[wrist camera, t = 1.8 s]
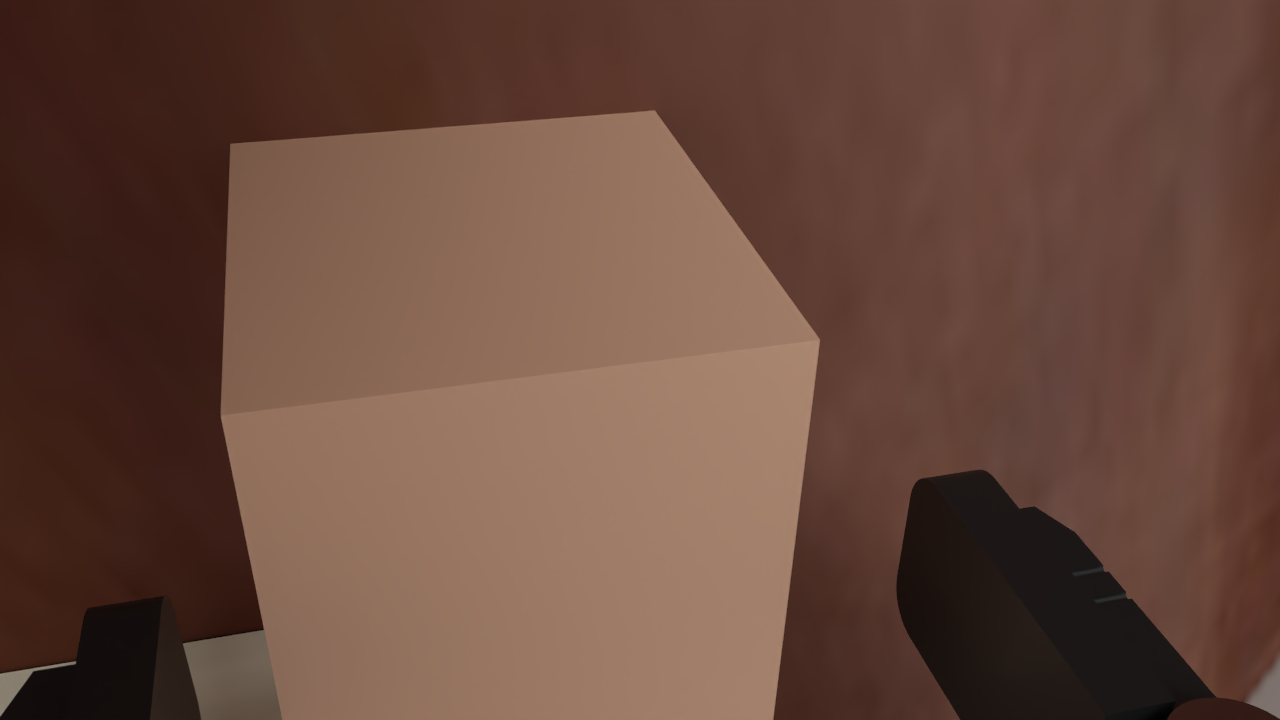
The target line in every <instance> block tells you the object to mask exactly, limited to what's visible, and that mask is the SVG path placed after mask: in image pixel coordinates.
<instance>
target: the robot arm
mask: <svg viewBox="0 0 1280 720" xmlns="http://www.w3.org/2000/svg"><path fill="white" fill-rule="evenodd" d="M897 600H898V606H899V611H900V614H901V618H902V621H903V624H904V626H905V628H906V631H907V633H908V635H909V636H910V638H911V640H912V641H913V643H914V645H915V646H916V648H917V650H918V651H919V653H920V654H921V656H922V658H923V659H924V661H925V663H926V664H927V666H928V668H929V669H930V671H931V672H932V674H933V676H934V677H935V679H936V681H937V682H938V684H939V685H940V687H941V689H942V690H943V692H944V694H945V695H946V697H947V699H948V700H949V702H950V703H951V705H952V707H953V708H954V710H955V712H956V713H957V715H958V716H959V718H960V720H1280V719H1279V718H1277V717H1275V716H1274V715H1272V714H1270V713H1268V712H1266V711H1264V710H1262V709H1260V708H1258V707H1255V706H1253V705H1250V704H1247V703H1244V702H1240V701H1236V700H1231V699H1225V698H1217V697H1216V696H1215V695H1214V694H1213V693H1212V692H1211V691H1210V690H1209V689H1208V687H1207V686H1206V685H1205V684H1204V683H1203V682H1202V680H1201V679H1200V678H1199V677H1198V676H1197V675H1196V673H1195V672H1194V671H1193V670H1192V669H1191V667H1190V666H1189V665H1188V664H1187V663H1186V662H1185V660H1184V659H1183V658H1182V657H1181V656H1180V655H1179V653H1178V652H1177V651H1176V650H1175V649H1174V648H1173V646H1172V645H1171V644H1170V643H1169V642H1168V641H1167V639H1166V638H1165V637H1164V636H1163V635H1162V634H1161V632H1160V631H1159V630H1158V629H1157V628H1156V627H1155V625H1154V624H1153V623H1152V622H1151V621H1150V620H1149V618H1148V617H1147V616H1146V615H1145V614H1144V612H1143V611H1142V610H1141V609H1140V608H1139V607H1138V605H1137V604H1136V603H1135V602H1134V601H1133V600H1132V599H1127V597H1126V591H1125V590H1124V589H1123V588H1122V587H1121V586H1120V584H1119V583H1118V582H1117V581H1116V580H1115V579H1114V577H1113V576H1112V575H1111V574H1110V573H1109V572H1104V570H1103V565H1102V563H1101V562H1100V561H1099V560H1098V559H1097V557H1096V556H1095V555H1094V554H1093V553H1092V552H1091V550H1090V549H1089V548H1088V547H1087V546H1086V545H1085V543H1084V542H1083V541H1082V540H1081V539H1080V538H1079V536H1078V535H1077V534H1076V533H1075V532H1074V531H1072V530H1070V529H1069V528H1067V527H1066V526H1064V525H1063V524H1061V523H1059V522H1058V521H1056V520H1055V519H1053V518H1052V517H1050V516H1048V515H1047V514H1045V513H1044V512H1042V511H1041V510H1039V509H1037V508H1036V507H1028V508H1022V509H1019V508H1018V507H1017V505H1016V504H1015V503H1014V502H1013V500H1012V499H1011V498H1010V497H1009V496H1008V494H1007V493H1006V492H1005V491H1004V489H1003V488H1002V487H1001V486H1000V485H999V483H998V482H997V481H996V480H995V478H994V477H993V476H992V475H991V474H989V473H988V472H987V471H984V470H974V471H967V472H961V473H955V474H948V475H942V476H936V477H929V478H923V479H920V480H918V481H917V482H916V483H915V485H914V487H913V489H912V492H911V497H910V503H909V509H908V515H907V521H906V527H905V533H904V539H903V545H902V551H901V557H900V563H899V569H898V575H897ZM0 720H201V716H200V710H199V704H198V700H197V696H196V692H195V688H194V684H193V680H192V677H191V673H190V669H189V665H188V661H187V657H186V654H185V650H184V646H183V642H182V638H181V634H180V630H179V627H178V623H177V619H176V615H175V611H174V608H173V605H172V602H171V600H170V598H169V597H168V596H161V597H155V598H148V599H142V600H135V601H129V602H123V603H116V604H110V605H104V606H97V607H91V608H89V609H87V611H86V613H85V616H84V620H83V625H82V630H81V636H80V642H79V647H78V653H77V659H76V664H73V665H67V666H61V667H55V668H49V669H43V670H37V671H33V672H32V674H31V675H30V676H29V678H28V679H27V681H26V682H25V683H24V685H23V686H22V687H21V689H20V690H19V691H18V693H17V694H16V696H15V697H14V698H13V700H12V701H11V702H10V704H9V705H8V706H7V708H6V709H5V711H4V712H3V713H2V715H1V716H0Z"/></svg>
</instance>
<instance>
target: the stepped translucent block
mask: <svg viewBox="0 0 1280 720" xmlns="http://www.w3.org/2000/svg"><path fill="white" fill-rule="evenodd" d="M183 646H184V650H185V654H186V657H187V661H188V665H189V669H190V673H191V677H192V680H193V684H194V688H195V692H196V696H197V700H198V704H199V710H200V716H201V720H282V715H281V710H280V705H279V700H278V695H277V690H276V686H275V681H274V676H273V671H272V666H271V661H270V656H269V651H268V646H267V641H266V636H265V631H264V630H261V631H255V632H249V633H243V634H237V635H231V636H225V637H219V638H213V639H207V640H201V641H195V642H189V643H183ZM73 664H76V661H74V662H68V663H62V664H56V665H50V666H44V667H38V668H32V669H26V670H20V671H14V672H8V673H2V674H0V716H1V715H2V713H3V712H4V711H5V709H6V708H7V706H8V705H9V704H10V702H11V701H12V700H13V698H14V697H15V696H16V694H17V693H18V691H19V690H20V689H21V687H22V686H23V685H24V683H25V682H26V681H27V679H28V678H29V676H30V675H31V674H32V672H33V671H37V670H43V669H49V668H55V667H61V666H67V665H73Z"/></svg>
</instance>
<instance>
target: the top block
mask: <svg viewBox="0 0 1280 720" xmlns="http://www.w3.org/2000/svg"><path fill="white" fill-rule="evenodd" d="M819 344H820V339H819V338H818V336H817V335H816V334H815V332H814V331H813V329H812V328H811V327H810V325H809V324H808V323H807V321H806V320H805V318H804V317H803V316H802V314H801V313H800V311H799V310H798V309H797V307H796V306H795V304H794V303H793V302H792V300H791V299H790V298H789V296H788V295H787V293H786V292H785V291H784V289H783V288H782V286H781V285H780V284H779V282H778V281H777V279H776V278H775V277H774V275H773V274H772V273H771V271H770V270H769V268H768V267H767V266H766V264H765V263H764V261H763V260H762V259H761V257H760V256H759V254H758V253H757V252H756V250H755V249H754V248H753V246H752V245H751V243H750V242H749V241H748V239H747V238H746V236H745V235H744V234H743V232H742V231H741V229H740V228H739V227H738V225H737V224H736V223H735V221H734V220H733V218H732V217H731V216H730V214H729V213H728V211H727V210H726V209H725V207H724V206H723V205H722V203H721V202H720V200H719V199H718V198H717V196H716V195H715V193H714V192H713V191H712V189H711V188H710V186H709V185H708V184H707V182H706V181H705V180H704V178H703V177H702V175H701V174H700V173H699V171H698V170H697V168H696V167H695V166H694V164H693V163H692V161H691V160H690V159H689V157H688V156H687V155H686V153H685V152H684V150H683V149H682V148H681V146H680V145H679V143H678V142H677V141H676V139H675V138H674V136H673V135H672V134H671V132H670V131H669V130H668V128H667V127H666V125H665V124H664V123H663V121H662V120H661V118H660V117H659V116H658V114H657V113H656V111H644V112H631V113H619V114H606V115H593V116H580V117H567V118H555V119H542V120H529V121H516V122H503V123H491V124H478V125H465V126H452V127H439V128H427V129H414V130H401V131H388V132H376V133H363V134H350V135H337V136H324V137H312V138H299V139H286V140H273V141H260V142H248V143H235V144H230V169H229V196H228V224H227V252H226V280H225V308H224V336H223V364H222V391H221V420H222V425H223V430H224V435H225V440H226V444H227V449H228V454H229V459H230V464H231V469H232V474H233V479H234V484H235V489H236V494H237V499H238V504H239V508H240V513H241V518H242V523H243V528H244V533H245V538H246V543H247V548H248V553H249V558H250V563H251V567H252V572H253V577H254V582H255V587H256V592H257V597H258V602H259V607H260V612H261V617H262V622H263V626H264V631H265V636H266V641H267V646H268V651H269V656H270V661H271V666H272V671H273V676H274V681H275V686H276V690H277V695H278V700H279V705H280V710H281V715H282V720H773V717H774V709H775V701H776V693H777V684H778V676H779V668H780V660H781V652H782V644H783V636H784V628H785V620H786V611H787V603H788V595H789V587H790V579H791V571H792V563H793V555H794V547H795V538H796V530H797V522H798V514H799V506H800V498H801V490H802V482H803V474H804V466H805V457H806V449H807V441H808V433H809V425H810V417H811V409H812V401H813V393H814V384H815V376H816V368H817V360H818V352H819Z"/></svg>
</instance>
